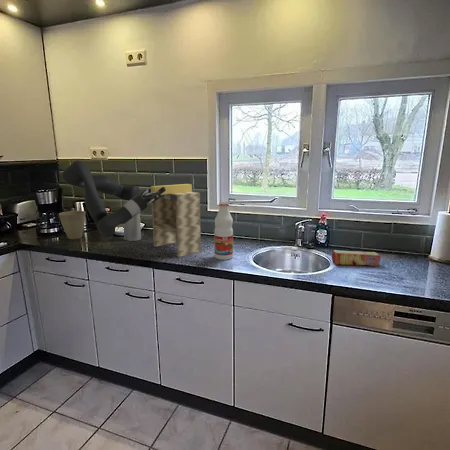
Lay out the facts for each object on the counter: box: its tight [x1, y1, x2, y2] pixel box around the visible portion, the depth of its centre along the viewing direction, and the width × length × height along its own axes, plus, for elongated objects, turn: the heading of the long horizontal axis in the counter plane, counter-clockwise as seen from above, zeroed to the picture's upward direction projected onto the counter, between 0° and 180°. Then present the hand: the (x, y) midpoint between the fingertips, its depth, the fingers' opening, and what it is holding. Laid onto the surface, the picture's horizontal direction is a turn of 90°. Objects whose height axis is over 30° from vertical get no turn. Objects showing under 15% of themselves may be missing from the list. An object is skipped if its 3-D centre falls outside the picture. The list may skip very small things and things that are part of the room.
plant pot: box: [58, 210, 86, 240], centre depth 196 cm, size 15×15×16 cm
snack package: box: [331, 249, 381, 267], centre depth 153 cm, size 21×7×7 cm, turn 84°
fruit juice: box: [213, 202, 234, 261], centre depth 160 cm, size 9×9×28 cm
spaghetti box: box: [150, 183, 193, 195], centre depth 162 cm, size 22×4×4 cm, turn 132°
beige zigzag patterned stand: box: [151, 191, 202, 257], centre depth 173 cm, size 15×26×32 cm, turn 42°
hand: (160, 187), depth 158 cm, fingers open, 8 cm apart
